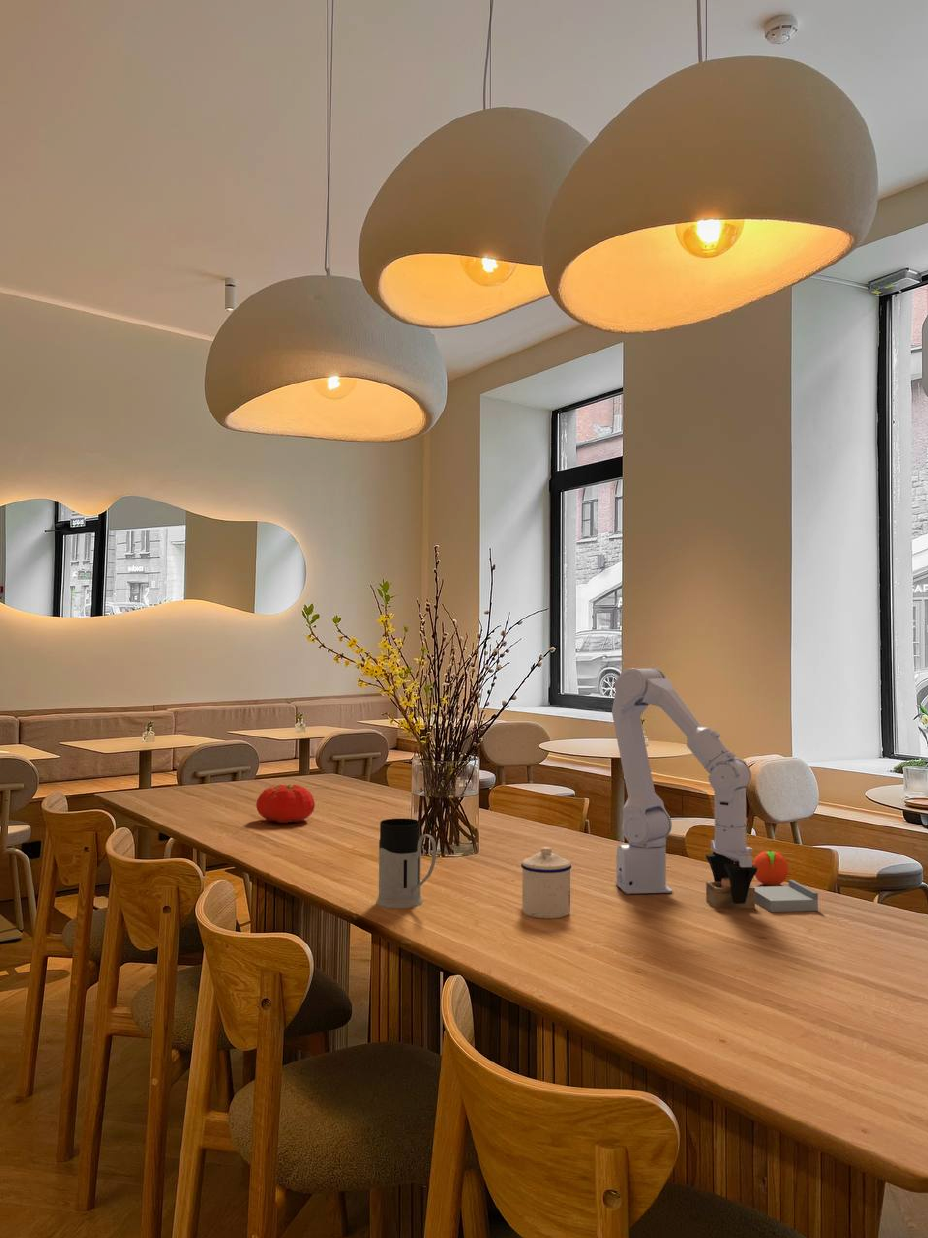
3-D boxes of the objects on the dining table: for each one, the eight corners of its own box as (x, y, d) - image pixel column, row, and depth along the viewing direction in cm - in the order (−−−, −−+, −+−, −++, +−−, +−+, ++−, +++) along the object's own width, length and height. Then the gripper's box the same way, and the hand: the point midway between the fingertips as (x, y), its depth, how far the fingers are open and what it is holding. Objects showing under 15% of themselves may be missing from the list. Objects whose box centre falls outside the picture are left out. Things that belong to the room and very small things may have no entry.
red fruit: (791, 892, 181) (791, 855, 181) (755, 890, 182) (754, 854, 182) (785, 882, 188) (785, 847, 189) (750, 880, 190) (750, 845, 190)
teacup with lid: (581, 915, 164) (581, 850, 164) (538, 922, 159) (538, 855, 160) (544, 899, 174) (544, 838, 175) (503, 905, 170) (503, 842, 171)
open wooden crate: (715, 910, 169) (715, 888, 169) (706, 902, 174) (706, 881, 174) (754, 909, 169) (754, 887, 169) (744, 902, 174) (744, 881, 174)
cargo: (724, 892, 170) (724, 881, 170) (719, 888, 173) (719, 877, 173) (741, 892, 170) (741, 881, 170) (736, 888, 173) (735, 877, 173)
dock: (770, 911, 166) (770, 894, 167) (748, 897, 176) (747, 880, 176) (817, 910, 167) (817, 892, 168) (792, 896, 177) (792, 879, 177)
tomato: (265, 816, 261) (265, 781, 262) (321, 818, 260) (321, 783, 260) (248, 826, 247) (249, 789, 248) (307, 827, 246) (307, 790, 246)
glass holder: (402, 893, 178) (402, 816, 179) (452, 907, 168) (452, 826, 169) (366, 901, 172) (367, 821, 173) (416, 917, 162) (417, 832, 163)
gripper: (767, 831, 165) (768, 907, 164) (735, 817, 179) (735, 887, 179) (730, 832, 164) (730, 908, 163) (700, 817, 178) (701, 887, 178)
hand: (730, 897), depth 171 cm, fingers open, 7 cm apart
